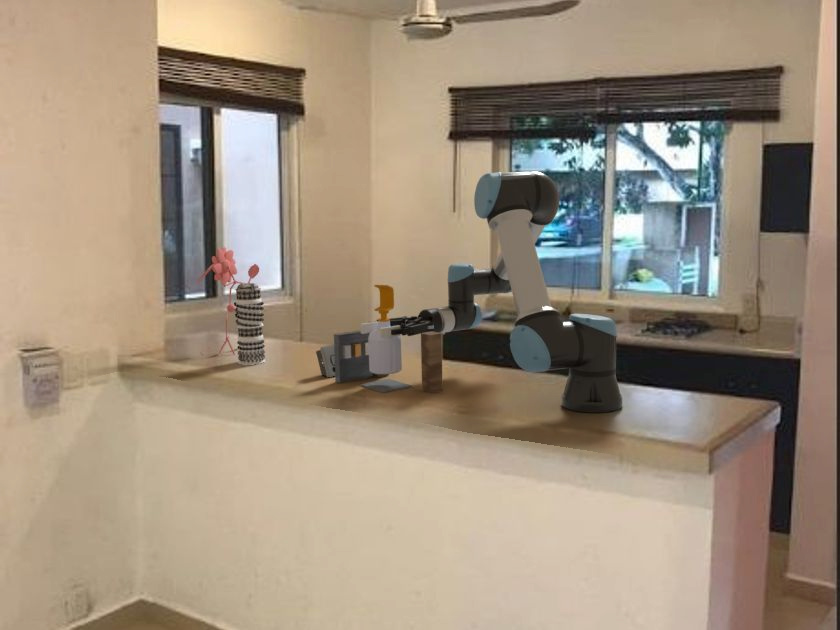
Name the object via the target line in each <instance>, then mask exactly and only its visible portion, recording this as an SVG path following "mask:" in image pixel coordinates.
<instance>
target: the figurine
mask: <svg viewBox="0 0 840 630" xmlns="http://www.w3.org/2000/svg"><path fill="white" fill-rule="evenodd" d="M211 262H212V264H211V265H210V266H209V267H208V268H207V269H206V271H204V273H203V274H202V275H201V276H200V277H199V279H198V280H197V283H200V282H201V280H203V279H204V278H205V277H206V276H207V274H209V272H210V271H213V272H214V273H215V274H214V276H213V277H214V278H213V279H214V280H215V281H220V282H221V284H222V285H223V287H224V288H226V287H229V286H230V285H231V286H230V287H229V300H228V301H229V304H227V306H226V311H227V312H226V317H225V341H224V343H222V346H221V345H220V350H219V352H218V354H219V355H220V354H221V352H222V350H223V349H224V348H225V346H226V344H227V343H228V345H229V348H230V350H231V353H232V354H233V355H236V353H235V350H234V348H233V346H232V344H231V342H230V339H229V338H230V335H228V315H229V313H233V312H235V309H236V306H234V303H233V304H232V303H231V301H232V300H231V299H232V289H233V288H234V286H235V285H236V284H239V285H240V284H245V283H246V282H242V281H237V280H236V279H235V276H236V275H237V274H238V270H237V267H236V260H235V258H234V251H233V250H232V249H230V250H229V249H228V251H227V248H226V247H225V246H224V247H222V248H220V247H218V248H217V250H216V256H214V255H213V256H212V257H211ZM247 273H248V277H249V280H248V282H247V283H251V280H252V279H255V277H256V276H258V274H259V273H260V267H259V265H257V264H256V263H254V264H253V265H251V266H250V268H248V271H247ZM234 275H235V276H234ZM232 280H233V281H232ZM263 345H264V346H266V345H265V344H263ZM218 348H219V346H217V347H216V346H215V347H211V348H207V349H206V350H204V351H201V354H202V355H203V353H205V352H206V351H209V350H212V349H218Z"/></svg>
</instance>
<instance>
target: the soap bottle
mask: <svg viewBox="0 0 840 630" xmlns="http://www.w3.org/2000/svg"><path fill="white" fill-rule="evenodd" d="M373 286H374V287H375V288H378V290H379V306H378V307H376V308H375V309H374V312H378V314H379V315H380V317H379V318H377V320H378V327H377V328H376V329H375V330H373V331H372V332H371V333H370V334H369V337H368V345H369V370H370V372H371V373H374V374H382V375H386V374H389V375H393V374H397V373H399V372H401V371H402V370H403V369H402V368H403V367H402V366H403V365H402V364H403V363H402V360H403V359H402V337H401V336H402V335H400V336H394V337H388V338H382V339H381V338H380V333H379V328H385V327H391V326H390V317H388V314H389V313H390V312H389V311H391V310H394V308H395V296H394V295H395V293H394V291H395V290H394V287H392V286H390V285H388V284H374V285H373Z"/></svg>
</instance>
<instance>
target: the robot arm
mask: <svg viewBox="0 0 840 630" xmlns="http://www.w3.org/2000/svg"><path fill="white" fill-rule="evenodd" d="M559 194H560V192H559V190H558V187H557V185H556V184H555V182H554V181H553V179H552V178H551V177H549V176H548V175H546V174H545V173H542V172H540V171H534V170H533V171H532V170H529V171H507V172H506V171H504V172H503V171H501V172H500V171H496V172H488V173H487V172H486V173H485V174H483V175H482V176H481V177H479V179H478V181H477V184H476V187H475V191H474V198H473V203H474V210H475V214H476V216H478V218H480V219H482V220H485V219H486V221H487V224H488V228H489V229H490V230H492V231H494V232H495V233H496V236H497V240H498V245H499V248H500V252H499V253H498V256H497V258H496V259H495V262H494V264H493V266H492V267H491V268H484V269H483V268H481V269H480V268H479V269H474V265H473V264H471V263H453V264H450V265H449V266H448V271H447V290H448V292H447V294H448V302H447V303H448V305H447V306H438V307H434V308H427V309H422V310H421V311H419V313H418V314H417V316H416V315H411V316H409V317H408V316H406V315H404V316H399V317H391V318H390V317H389V318H390V326H391V327H385V328H379V333H380V338H381V339H382V338H388V337H394V336H407V337H411V336H415V335H421V333H425V332H431V331H433V332H438V333H442V335H445V334H446V333H450V332H457V331H462V330H469V329H473V328H476V327H478V326H480V324H481V322H482V320H483V312H482V311H481V309H482V307H481V306H480V305H479V304H478V303H476V302H475V296H481V295H495V294H496V295H497V294H498V295H499V294H508V293H512V297H513V301H514V305H515V309H516V312H517V318H516V319H515V320H514V324H513V325H514V327H513V329H511V331H510V334H509V340H510V342H509V346H510V351H511V353H512V357H513V359H514V361H515V363H516V364H517V365H518V367H519V368H521V369H523V370H524V371H526V372H530V373H534V372H535V373H536V372H539V373H544V372H547V371H556V370H557V371H558V370H564V369H568V377H567V380H566V384H565V387H564V391H563V393H562V396H561V405H562V407H564V408H565V409H567V410H571V411H575V412H581V413H593V414H595V413H596V414H597V413H599V414H600V413H609V412H615V411H618V410H619V409H621V408H622V407H623V396H622V394H621V390H620V387H619V384H618V380H617V376H616V374H617V369H616V368H617V364H616V363H617V337H618V335H617V325H616V321H615V320H613V318H610V317H607V316H602V315H598V314H597V315H596V314H590V313H589V314H587V313H571V314H570V315H569V317H568V321H566V320H565V321H563V320H562V317H561V314H560V311H559V310H557V309H556V308H554V307H552V303H551V300H550V299H551V298H550V297H549V293H548V290H547V285H546V282H545V278H544V274H543V270H542V267H541V263H540V259H539V256H538V253H537V248H536V243H537V241H538V239H539V238H540V236H541V234H542V233H543V231H544V229H545V228H546V226H548V225H550V224H552V222H553V221H554V220H555V217H556V215H557V214H558V211H559V206H560V195H559ZM376 321H377V322H371V323H369V322H364V323H360V330H361V334H365V333H371V332H372V331H373V330H375V329H376V328H377V327H378V319H376Z"/></svg>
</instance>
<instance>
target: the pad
mask: <svg viewBox="0 0 840 630" xmlns="http://www.w3.org/2000/svg"><path fill="white" fill-rule="evenodd" d="M360 387H363V388H366V389H370V390H373V391H376V392H379V393H382V394H384V393H390V392H394V391H400V390H404V389H405V390H406V389H410V388H413V385H411V384H409V383H404V382H401V381H398V380H394V379H390V378H387V379H382V380H376V381H371V382H370V381H369V382H365V383H362V384H361V383H360Z"/></svg>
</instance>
